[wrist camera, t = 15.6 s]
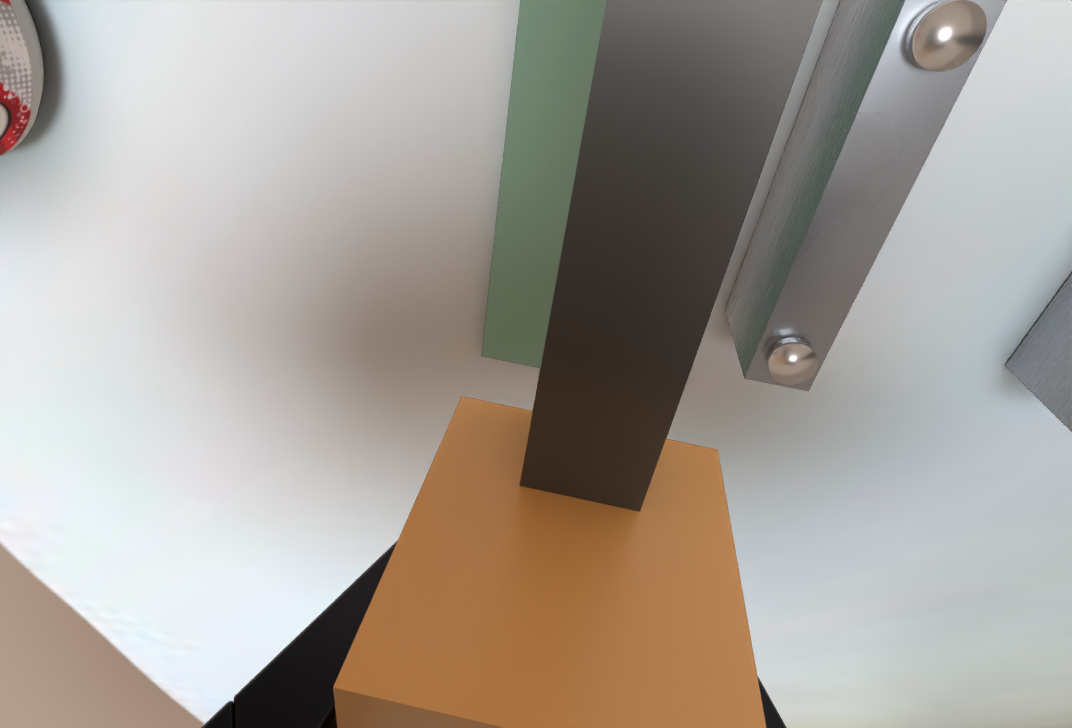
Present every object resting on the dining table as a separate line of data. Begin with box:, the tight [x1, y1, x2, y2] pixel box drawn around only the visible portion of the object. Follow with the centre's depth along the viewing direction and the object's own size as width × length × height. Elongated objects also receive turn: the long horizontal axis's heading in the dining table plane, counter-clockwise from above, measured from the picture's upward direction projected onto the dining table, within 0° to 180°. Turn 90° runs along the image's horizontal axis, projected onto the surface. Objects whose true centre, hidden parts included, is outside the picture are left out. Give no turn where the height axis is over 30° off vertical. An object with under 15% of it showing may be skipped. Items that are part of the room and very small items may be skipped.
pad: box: [481, 0, 606, 368], centre depth 15 cm, size 6×12×1 cm, turn 171°
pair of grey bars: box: [725, 0, 1072, 432], centre depth 12 cm, size 9×8×4 cm
